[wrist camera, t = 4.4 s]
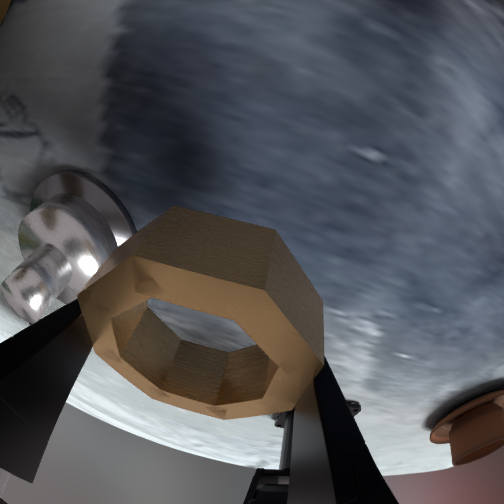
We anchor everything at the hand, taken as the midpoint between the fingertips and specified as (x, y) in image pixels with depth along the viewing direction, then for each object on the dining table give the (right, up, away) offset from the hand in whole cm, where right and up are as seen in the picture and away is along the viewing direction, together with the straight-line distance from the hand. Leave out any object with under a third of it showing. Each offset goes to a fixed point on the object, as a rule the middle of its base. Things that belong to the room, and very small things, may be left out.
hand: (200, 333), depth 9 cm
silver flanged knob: (-9, +4, +8) cm, 12 cm away
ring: (0, +1, +1) cm, 1 cm away
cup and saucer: (+27, -15, +14) cm, 34 cm away
